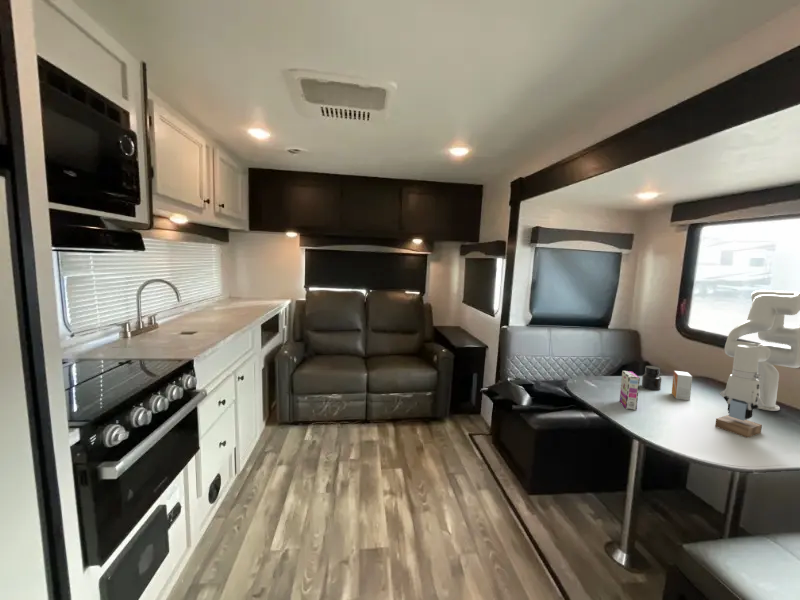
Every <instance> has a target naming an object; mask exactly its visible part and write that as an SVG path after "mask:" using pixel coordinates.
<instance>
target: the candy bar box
mask: <svg viewBox="0 0 800 600" xmlns="http://www.w3.org/2000/svg"><path fill="white" fill-rule="evenodd" d="M640 379H641V378H640V377H639V376H638V375H637V374H636V372H635V373H634V371H630V370H629V371H628V370H622V372H621V381H620V392H619V402H620V403H622V404H621V405H622V406H623V407H624V409H625V410H631V411H637V410H638V398H639V390H640V389H639V388H640Z"/></svg>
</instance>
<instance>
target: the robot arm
mask: <svg viewBox="0 0 800 600" xmlns="http://www.w3.org/2000/svg"><path fill="white" fill-rule="evenodd" d="M750 296H751V297H750V298H751V302H752V303H751V306H750V309H749V313H748V315H747V318H746V319H747V320H746V321H745V322H743V323H741V324H739V325H737V326H735V327H734V328H733V329H731V331H730V332H729V333H728V335H727V338H726V340H725V341H726V342H725V345H724V354H725V355H727V356H728V357H731V358H733V363H732V372H731V374H729V376H728V379H727V383H726V386H725V389H724V390H721V392H719V395H720V396H721V397H722V398H723V399H724V401H726V403H727V412H728V414H729V409H730V401H731V400H734V399H736V400H740V401H743V402H746V403H747V407H748V408H747V409H746V415H745V418H746V419H747V420H749V419H751V418H752V417H753V411H754V410H755V409H758V410H759V409H760V410H764V411H769V412H770V411H771V412H777V411H780V410H781V409H780V406H779V405H778V404H777V396H778V388H779V381H780V372H779V370H777V368H776V367H775V366H780V367H788V368H793V369H796V368H797V369H798V368H800V325H795V324H794V325H793V324H792V325H791V324H786V323H785V316H795V315H797V314H798V313H799V312H800V291H799V292H798V291H787V290H785V291H784V290H772V289H770V290H768V289H767V290H766V289H759V290H755V291H753V292H752V293H751V295H750ZM750 334H757V337H758V339H759V340H761V341H762V342H766V343H754V342H748V341H747V342H746V341H741V340H738V339H739V338H741V337H743V336H747V335H750ZM769 343H770V344H769ZM771 343H773V344H771ZM777 344H778V345H777ZM779 344H780V345H779ZM784 345H787V346H784Z"/></svg>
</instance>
